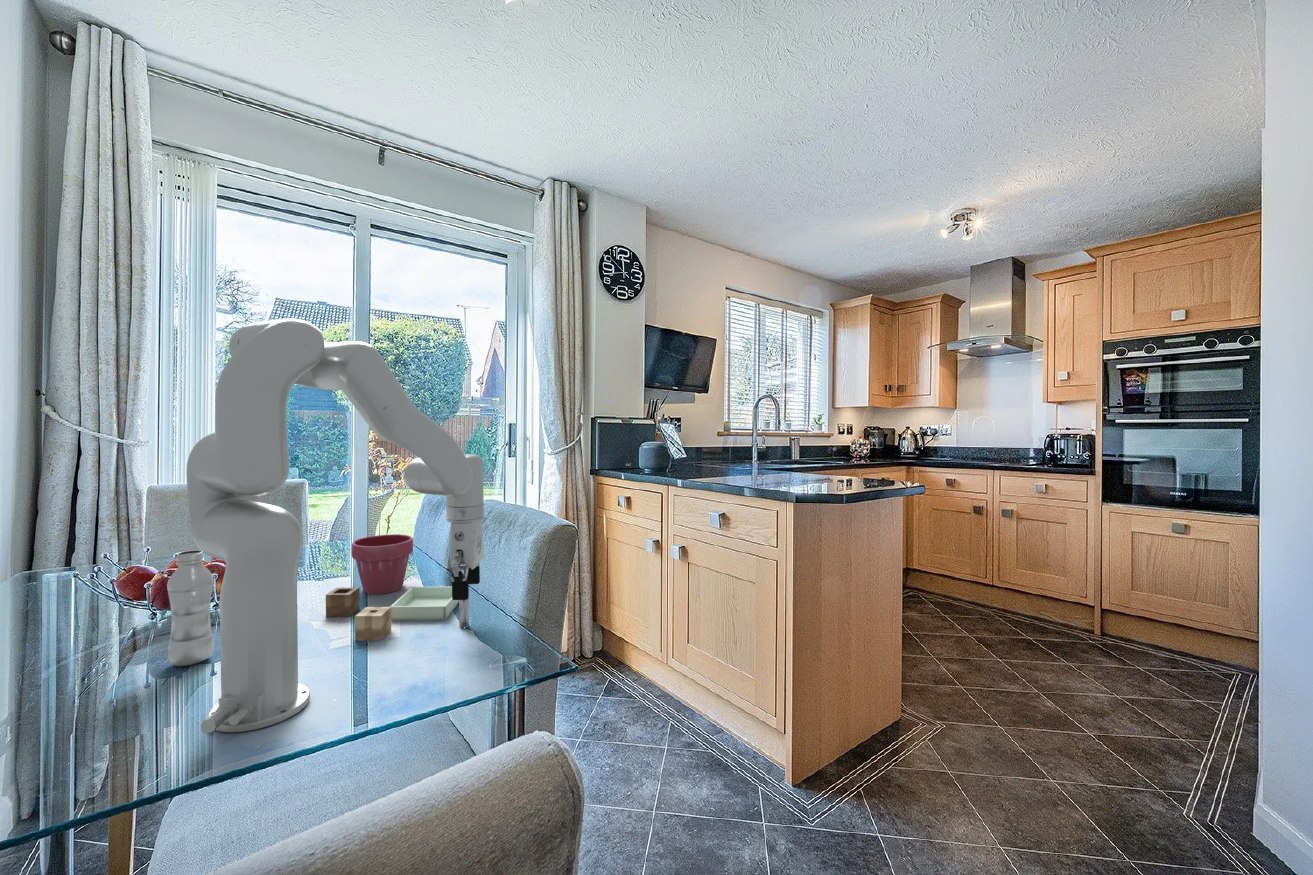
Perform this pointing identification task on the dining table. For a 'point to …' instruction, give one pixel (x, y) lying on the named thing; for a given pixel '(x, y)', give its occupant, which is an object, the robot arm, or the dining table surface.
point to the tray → (424, 604)
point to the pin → (463, 613)
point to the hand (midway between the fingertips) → (466, 591)
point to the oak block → (372, 623)
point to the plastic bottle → (190, 610)
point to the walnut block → (342, 602)
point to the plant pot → (382, 561)
